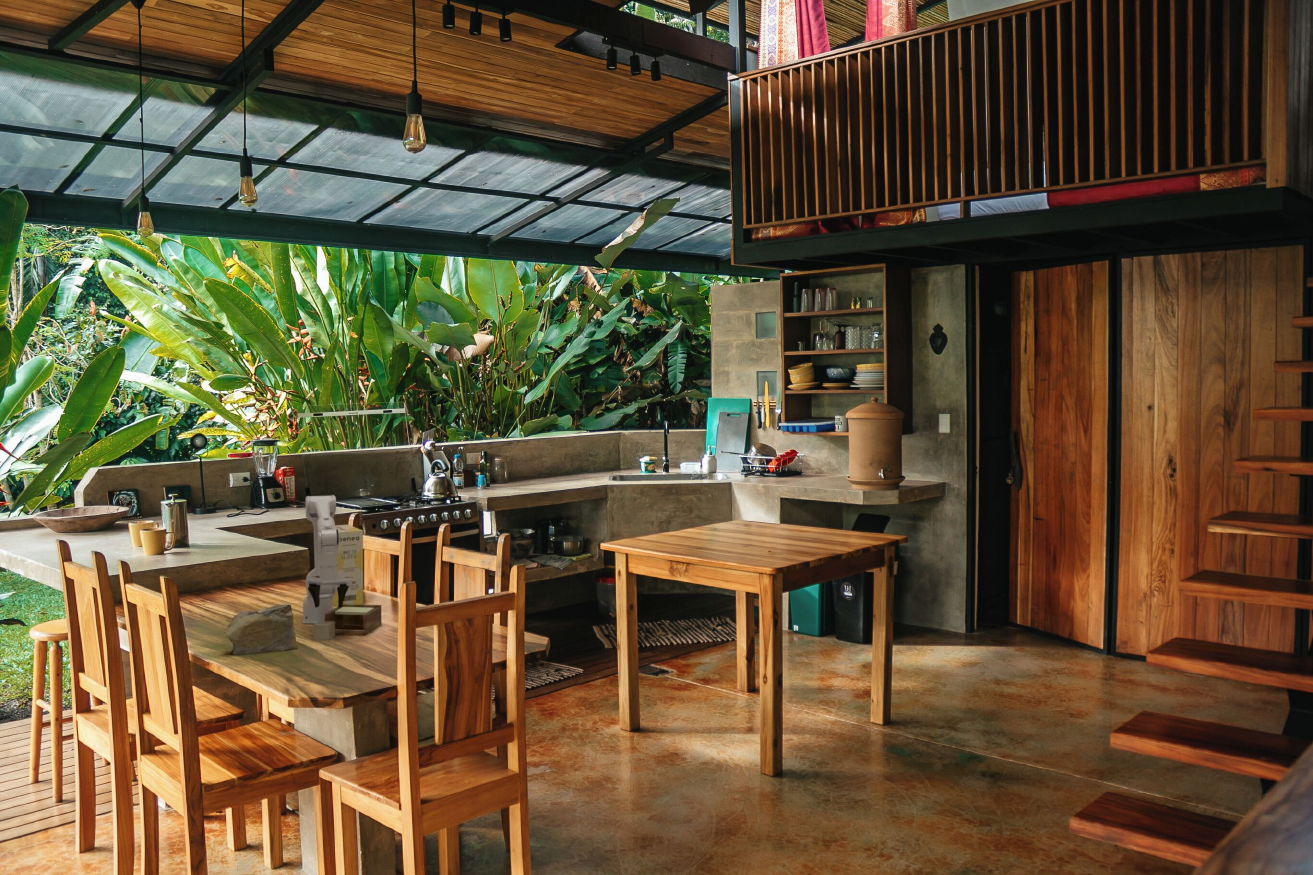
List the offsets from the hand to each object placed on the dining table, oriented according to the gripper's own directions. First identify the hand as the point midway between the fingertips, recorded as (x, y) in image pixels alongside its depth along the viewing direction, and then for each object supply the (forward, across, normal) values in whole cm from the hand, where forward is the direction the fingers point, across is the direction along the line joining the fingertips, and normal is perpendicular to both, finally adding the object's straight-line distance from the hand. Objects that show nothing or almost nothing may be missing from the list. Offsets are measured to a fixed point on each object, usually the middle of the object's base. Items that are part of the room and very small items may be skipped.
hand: (328, 606), depth 317 cm
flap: (+4, +5, +12) cm, 13 cm away
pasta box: (+10, -14, +53) cm, 56 cm away
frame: (+10, +4, +10) cm, 15 cm away
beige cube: (+8, -1, -1) cm, 8 cm away
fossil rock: (+10, -16, -16) cm, 25 cm away
